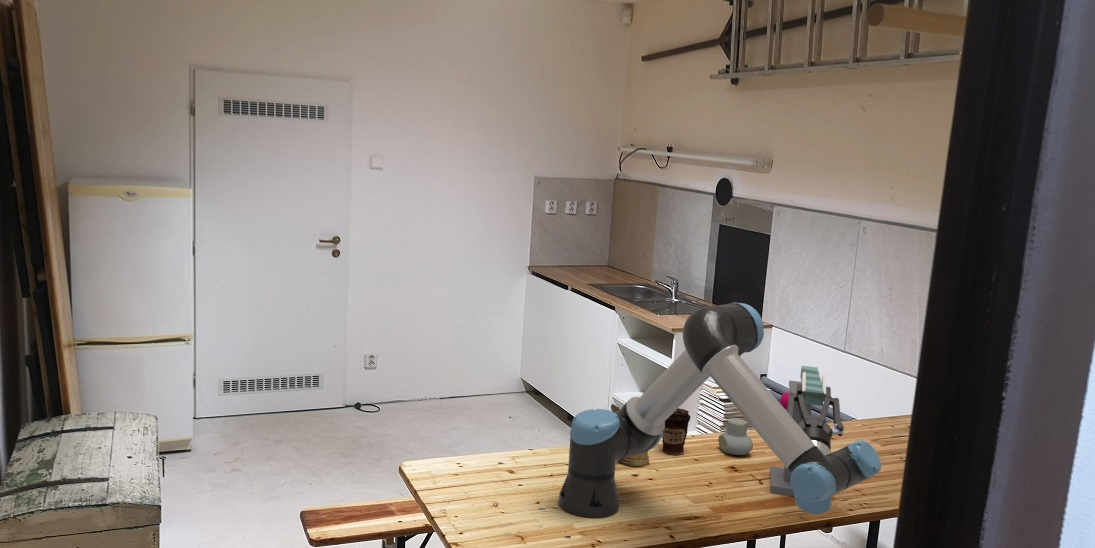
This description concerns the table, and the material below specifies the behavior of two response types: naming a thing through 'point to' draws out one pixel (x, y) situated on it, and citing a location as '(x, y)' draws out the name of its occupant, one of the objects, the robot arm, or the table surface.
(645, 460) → the wooden mug
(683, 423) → the coffee cup
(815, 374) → the block
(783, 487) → the stand
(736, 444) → the air freshener
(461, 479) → the table surface
